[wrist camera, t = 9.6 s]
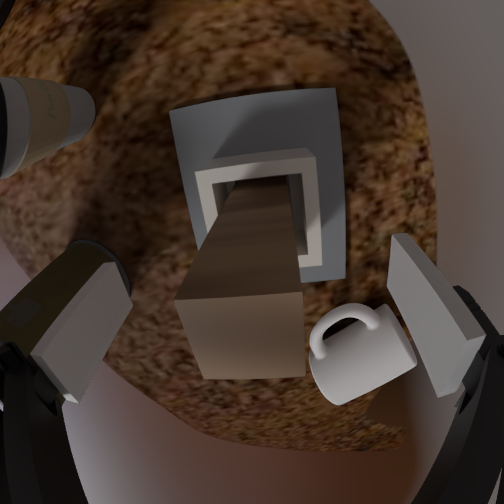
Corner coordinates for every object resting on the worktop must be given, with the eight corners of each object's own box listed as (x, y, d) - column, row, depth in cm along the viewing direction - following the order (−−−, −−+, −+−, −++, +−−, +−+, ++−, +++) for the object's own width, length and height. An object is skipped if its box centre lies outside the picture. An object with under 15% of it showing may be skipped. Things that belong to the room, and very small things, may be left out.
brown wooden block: (236, 181, 23) (173, 300, 9) (285, 175, 22) (302, 291, 8) (244, 226, 25) (204, 378, 11) (290, 221, 24) (305, 375, 10)
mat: (172, 110, 22) (169, 110, 22) (333, 88, 20) (335, 87, 20) (210, 285, 30) (208, 289, 29) (343, 274, 28) (345, 278, 28)
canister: (115, 235, 28) (-9, 368, 11) (141, 312, 33) (69, 451, 15) (51, 243, 30) (-54, 342, 12) (79, 309, 34) (4, 416, 17)
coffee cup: (124, 87, 21) (-2, 87, 8) (90, 172, 25) (-20, 230, 12) (62, 63, 20) (-50, 65, 6) (36, 140, 24) (-67, 178, 10)
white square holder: (212, 159, 23) (194, 171, 18) (306, 147, 22) (315, 156, 17) (227, 243, 27) (216, 274, 22) (313, 235, 26) (322, 265, 21)
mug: (403, 328, 31) (423, 375, 24) (338, 366, 35) (346, 414, 28) (361, 265, 28) (384, 314, 21) (285, 314, 31) (286, 369, 24)
